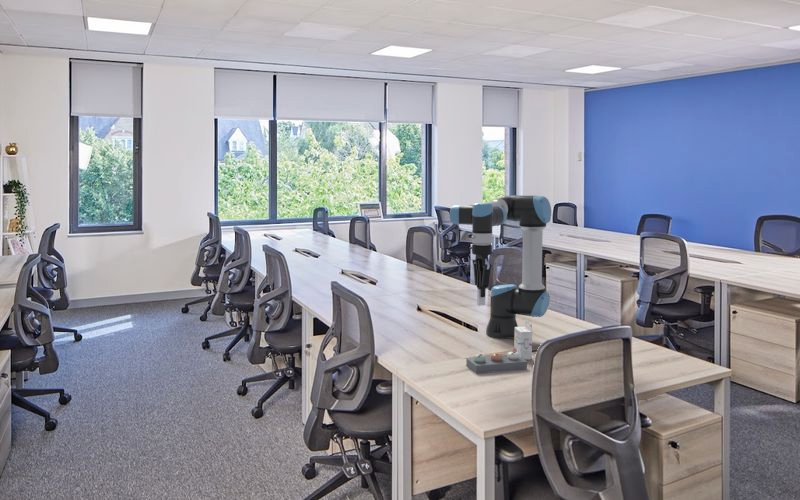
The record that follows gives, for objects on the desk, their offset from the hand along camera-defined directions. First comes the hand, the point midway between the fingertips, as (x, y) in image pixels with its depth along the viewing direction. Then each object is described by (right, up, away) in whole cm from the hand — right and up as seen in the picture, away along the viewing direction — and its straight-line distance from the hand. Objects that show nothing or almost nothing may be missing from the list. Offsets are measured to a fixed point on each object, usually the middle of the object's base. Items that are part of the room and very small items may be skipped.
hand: (481, 304), depth 243 cm
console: (+6, -24, +3) cm, 25 cm away
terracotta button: (+6, -21, +2) cm, 22 cm away
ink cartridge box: (+19, -23, +17) cm, 34 cm away
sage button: (-1, -22, +1) cm, 22 cm away
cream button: (+13, -21, +4) cm, 25 cm away
